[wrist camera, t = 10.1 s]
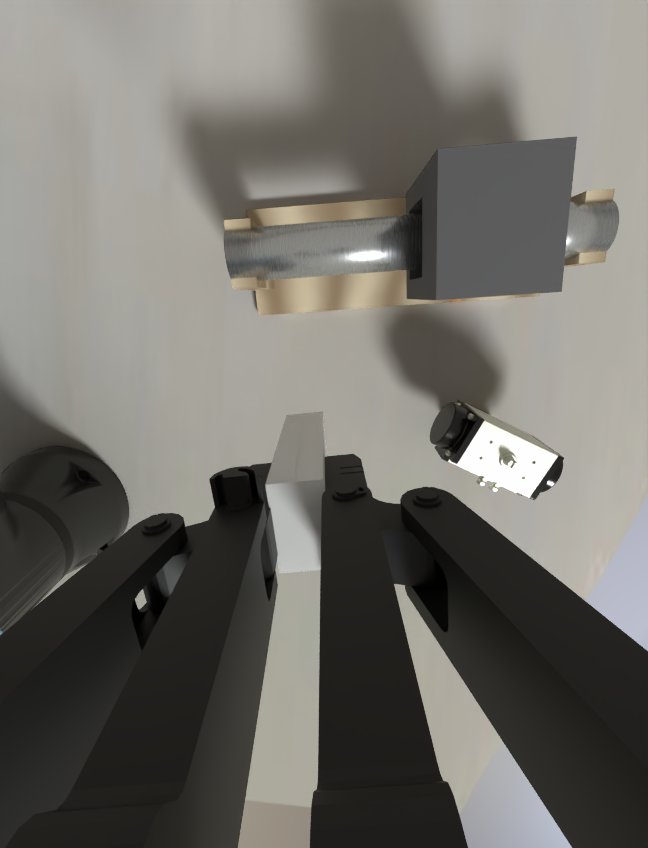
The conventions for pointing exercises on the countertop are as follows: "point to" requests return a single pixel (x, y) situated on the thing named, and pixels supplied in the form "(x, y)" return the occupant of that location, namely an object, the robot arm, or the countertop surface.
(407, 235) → the pipe
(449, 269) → the collar
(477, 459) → the pneumatic valve
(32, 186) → the countertop surface
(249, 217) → the pipe rig
